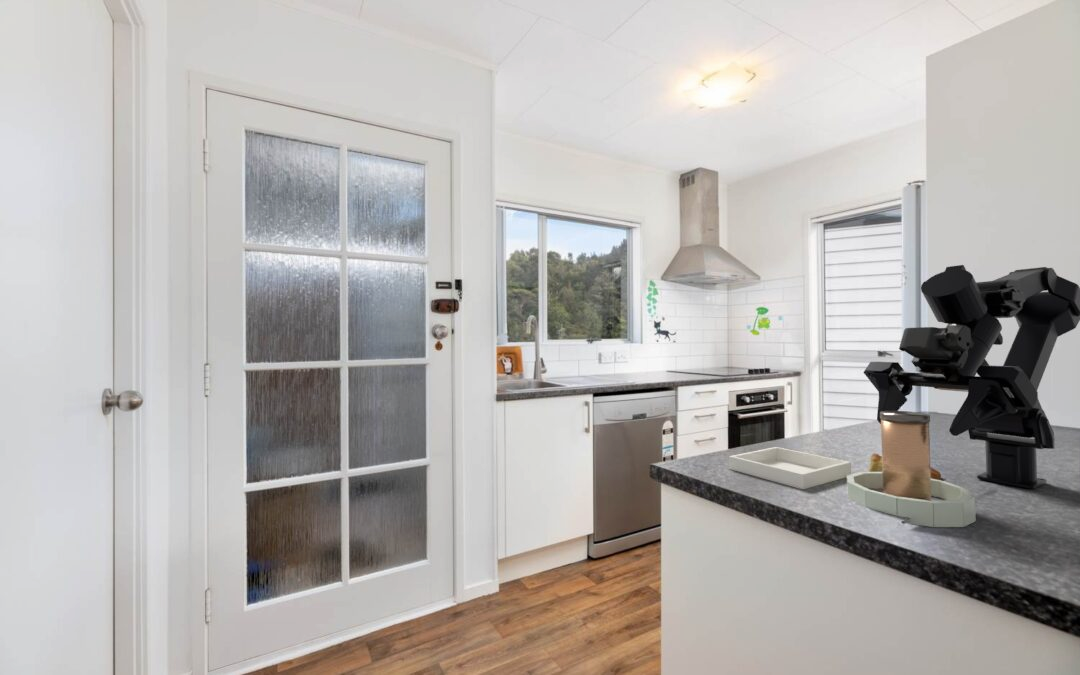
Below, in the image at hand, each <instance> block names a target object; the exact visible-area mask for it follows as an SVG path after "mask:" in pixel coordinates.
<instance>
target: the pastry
mask: <svg viewBox="0 0 1080 675" xmlns="http://www.w3.org/2000/svg"><path fill="white" fill-rule="evenodd" d="M867 472H882V455H880V454H878V453H872V454H871V455H870V463H869V468H868V471H867ZM930 474H931V479H936V480H941V481H942V474H941V472H940V471H938V470H936V469H935V468H933V467H931V466H930Z"/></svg>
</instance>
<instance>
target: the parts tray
mask: <svg viewBox="0 0 1080 675" xmlns="http://www.w3.org/2000/svg"><path fill="white" fill-rule="evenodd" d="M728 468H729V470H731V471H735V472H739V473H741V474H746V475H750V476H753V477H757V478H760V479H763V480H768V481H770V482H774V483H778V484H782V485H786V486H789V487H792V488H793V487H794V488H797V489H800V490H806V489H810V488H813V487H817V486H821V485H824V484H828V483H830V482H834V481H837V480H838V481H839V480H842V479H847V475H851V474H852V462H851V461H847V460H841V459H838V458H831V457H827V456H822V455H817V454H812V453H808V452H803V451H798V450H794V449H793V450H792V449H788V448H783V447H780V446H779V447H778V446H774V447H768V448H763V449H758V450H755V451H747V452H744V453H739V454H734V455H729V456H728Z"/></svg>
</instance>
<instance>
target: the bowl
mask: <svg viewBox="0 0 1080 675" xmlns="http://www.w3.org/2000/svg"><path fill="white" fill-rule="evenodd" d="M873 489H883V479H882V472H868V471H859V472H855V473H851V475H847V477H846V492H847V499H849V500H852V502H855V503H857V504H859V505H861V506H862V507H865V508H867V509H871V510H875V511H878V512H880V513H881V512H882V513H886V514H889V515H893V516H897V517H901V518H902V517H903V518H907V519H905V520H902V521H901V523H903V524H909V525H910V524H911V525H917V526H923V527H931V528H965V527H967V526H969V525H970V524H971V525H972V523H973V524H974V522H976V521H977V518H976V514H977V513H976V497H975V495H974V494H973V493H971V492H970V490H969V489H968V488H965V487H962V486H959V485H956V484H953V483H951V482H948V481H944V480H942V479H941V480H936V479H931V497H934V498H940V499H941V500H939V499H938V500H934V499H933V500H931V501H929V500H921V499H914V498H906V497H898V496H894V495H890V494H886V493H883V492H880V491H877V490H873Z"/></svg>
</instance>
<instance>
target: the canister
mask: <svg viewBox="0 0 1080 675" xmlns="http://www.w3.org/2000/svg"><path fill="white" fill-rule="evenodd" d="M880 418H881V424H880V434H881V437H880V438H881V456H882V479H883V488H882V493H886V494H890V495H894V496H898V497H906V498H914V499H921V500H929V501H932V496H931V474H930V467H931V446H930V441H931V440H930V422H931V415H930V414H928V413H924V412H917V411H907V410H898V411H881V412H880Z"/></svg>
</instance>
